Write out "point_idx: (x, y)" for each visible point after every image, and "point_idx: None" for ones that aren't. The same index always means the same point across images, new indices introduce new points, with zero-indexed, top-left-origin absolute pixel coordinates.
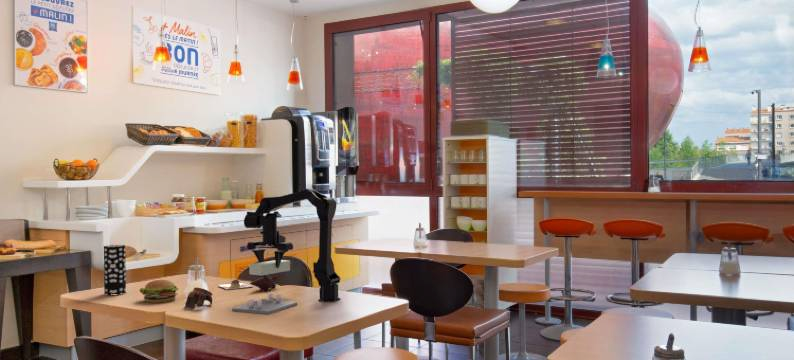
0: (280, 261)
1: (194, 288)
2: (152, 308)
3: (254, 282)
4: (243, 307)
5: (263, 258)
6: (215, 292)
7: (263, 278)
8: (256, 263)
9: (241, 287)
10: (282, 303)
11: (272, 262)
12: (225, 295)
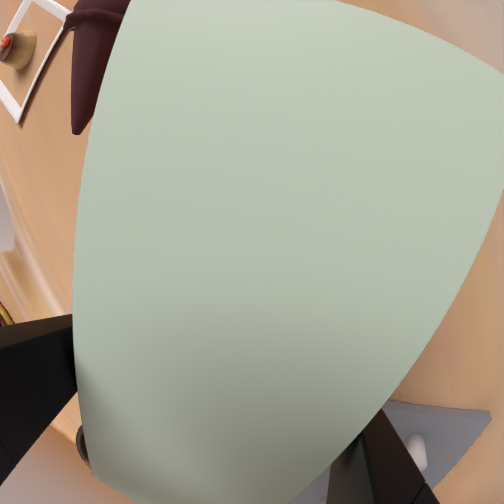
0: (404, 466)
1: (88, 464)
2: (65, 425)
3: (86, 110)
4: (299, 497)
5: (24, 359)
6: (14, 182)
7: (102, 38)
8: (108, 461)
9: (43, 63)
10: (433, 449)
11: (238, 434)
12: (63, 236)
